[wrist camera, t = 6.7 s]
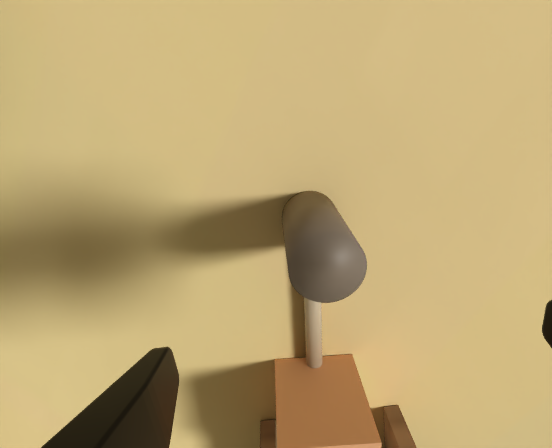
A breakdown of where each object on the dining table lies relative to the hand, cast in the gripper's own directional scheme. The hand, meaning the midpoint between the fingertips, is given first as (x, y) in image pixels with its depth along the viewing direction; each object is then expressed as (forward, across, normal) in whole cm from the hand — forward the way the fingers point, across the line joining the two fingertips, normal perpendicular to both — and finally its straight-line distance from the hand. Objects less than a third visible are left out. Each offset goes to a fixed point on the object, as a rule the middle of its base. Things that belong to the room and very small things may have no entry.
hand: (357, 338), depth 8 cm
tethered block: (+11, 0, +7) cm, 13 cm away
